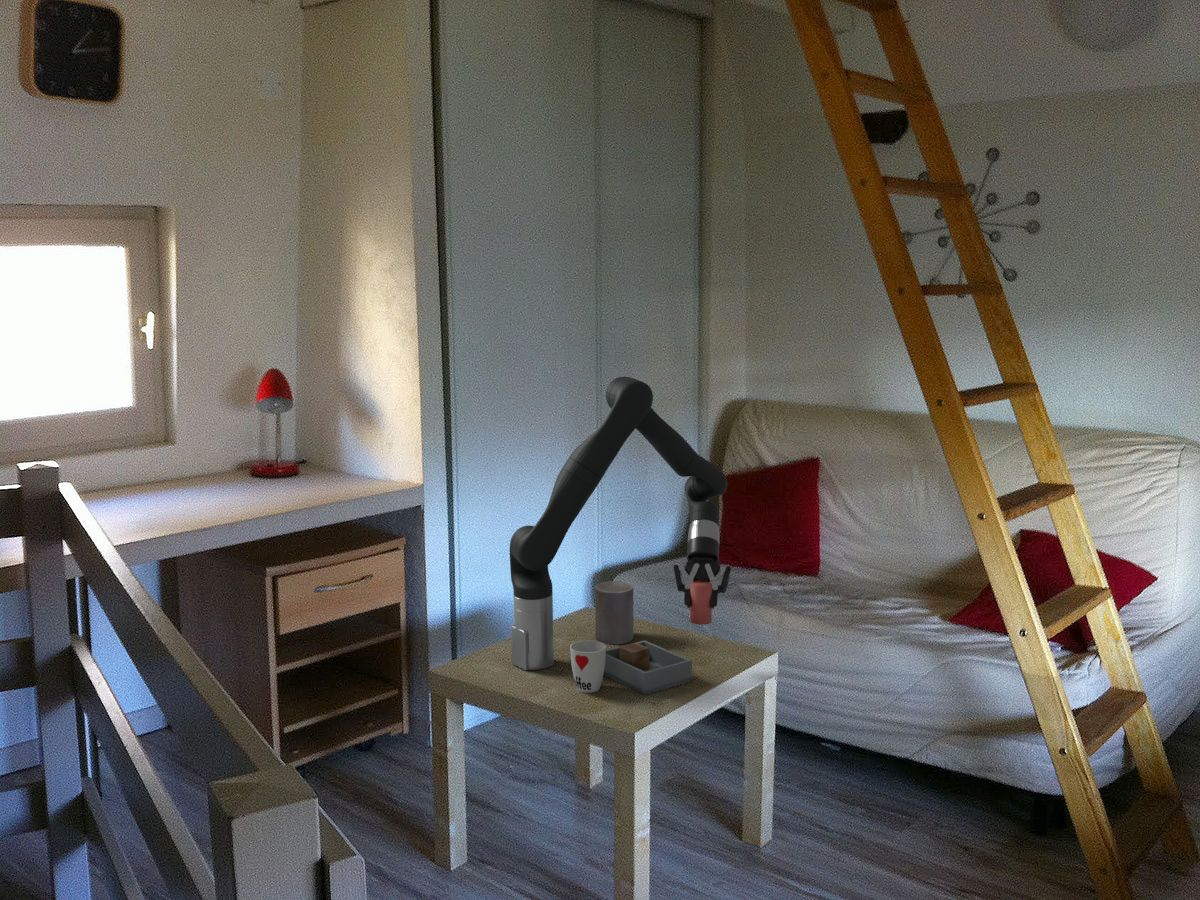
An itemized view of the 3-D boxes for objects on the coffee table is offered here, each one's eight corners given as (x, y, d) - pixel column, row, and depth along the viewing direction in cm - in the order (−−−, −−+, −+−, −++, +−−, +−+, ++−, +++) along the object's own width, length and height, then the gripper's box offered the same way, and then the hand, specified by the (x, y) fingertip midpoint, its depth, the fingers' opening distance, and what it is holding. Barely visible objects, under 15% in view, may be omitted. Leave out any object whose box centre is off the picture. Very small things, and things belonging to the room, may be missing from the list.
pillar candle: (588, 635, 314) (588, 579, 311) (622, 629, 319) (621, 573, 316) (607, 647, 306) (606, 589, 303) (641, 640, 310) (640, 583, 307)
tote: (644, 695, 274) (644, 673, 274) (598, 672, 288) (598, 652, 288) (691, 681, 282) (691, 660, 281) (644, 660, 296) (644, 640, 295)
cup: (563, 687, 279) (562, 645, 278) (592, 679, 284) (591, 637, 282) (584, 698, 273) (584, 655, 271) (613, 689, 278) (613, 647, 276)
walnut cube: (632, 673, 285) (632, 652, 284) (619, 667, 289) (619, 647, 288) (649, 668, 288) (649, 648, 287) (636, 662, 292) (636, 642, 291)
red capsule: (699, 626, 284) (699, 588, 283) (685, 620, 288) (685, 583, 287) (716, 621, 287) (716, 584, 286) (702, 616, 291) (702, 579, 290)
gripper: (672, 534, 293) (668, 598, 283) (733, 535, 291) (731, 600, 281) (674, 550, 299) (670, 613, 289) (733, 551, 297) (731, 615, 287)
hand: (700, 606), depth 285 cm, fingers closed on red capsule, 5 cm apart
